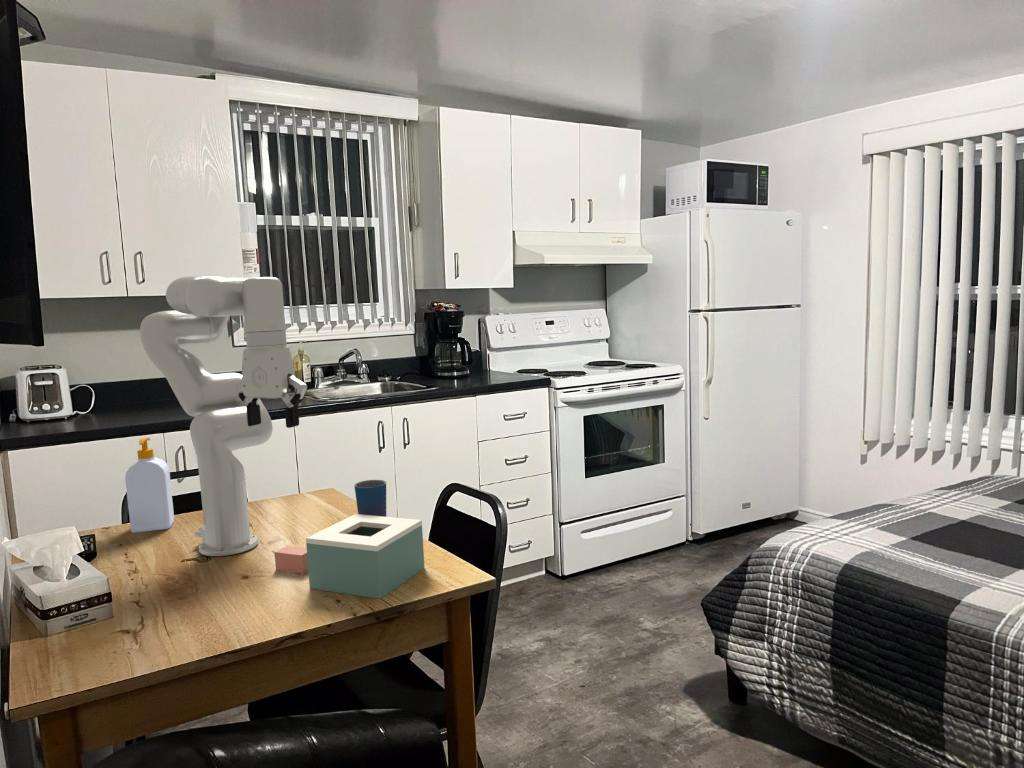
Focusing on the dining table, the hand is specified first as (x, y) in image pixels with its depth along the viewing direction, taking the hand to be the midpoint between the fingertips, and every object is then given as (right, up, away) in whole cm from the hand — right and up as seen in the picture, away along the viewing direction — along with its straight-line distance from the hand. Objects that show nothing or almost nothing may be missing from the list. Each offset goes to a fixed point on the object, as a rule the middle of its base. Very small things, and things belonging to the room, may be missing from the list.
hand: (273, 425), depth 147 cm
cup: (+18, -28, +14) cm, 36 cm away
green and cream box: (+20, -30, -2) cm, 36 cm away
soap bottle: (-43, -28, +38) cm, 64 cm away
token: (+3, -30, +5) cm, 31 cm away
